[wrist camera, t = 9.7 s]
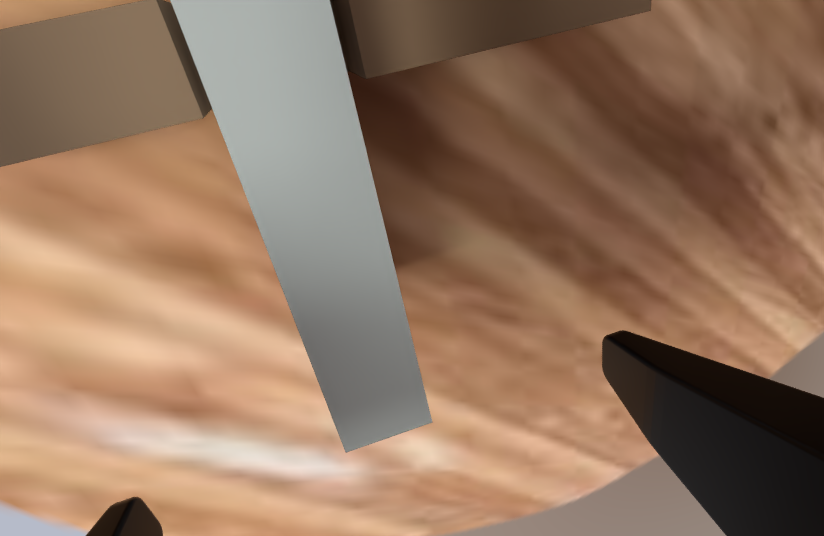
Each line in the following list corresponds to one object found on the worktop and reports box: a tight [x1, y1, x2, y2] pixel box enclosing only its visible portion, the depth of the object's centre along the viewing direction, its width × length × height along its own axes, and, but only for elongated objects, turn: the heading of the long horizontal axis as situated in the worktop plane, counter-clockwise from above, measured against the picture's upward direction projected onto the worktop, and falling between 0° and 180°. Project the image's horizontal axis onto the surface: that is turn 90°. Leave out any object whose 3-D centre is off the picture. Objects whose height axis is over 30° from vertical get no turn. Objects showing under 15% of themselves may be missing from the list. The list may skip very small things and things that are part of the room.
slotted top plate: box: [170, 0, 432, 452], centre depth 12 cm, size 20×2×9 cm, turn 11°
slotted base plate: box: [0, 0, 651, 167], centre depth 13 cm, size 20×2×6 cm, turn 101°
